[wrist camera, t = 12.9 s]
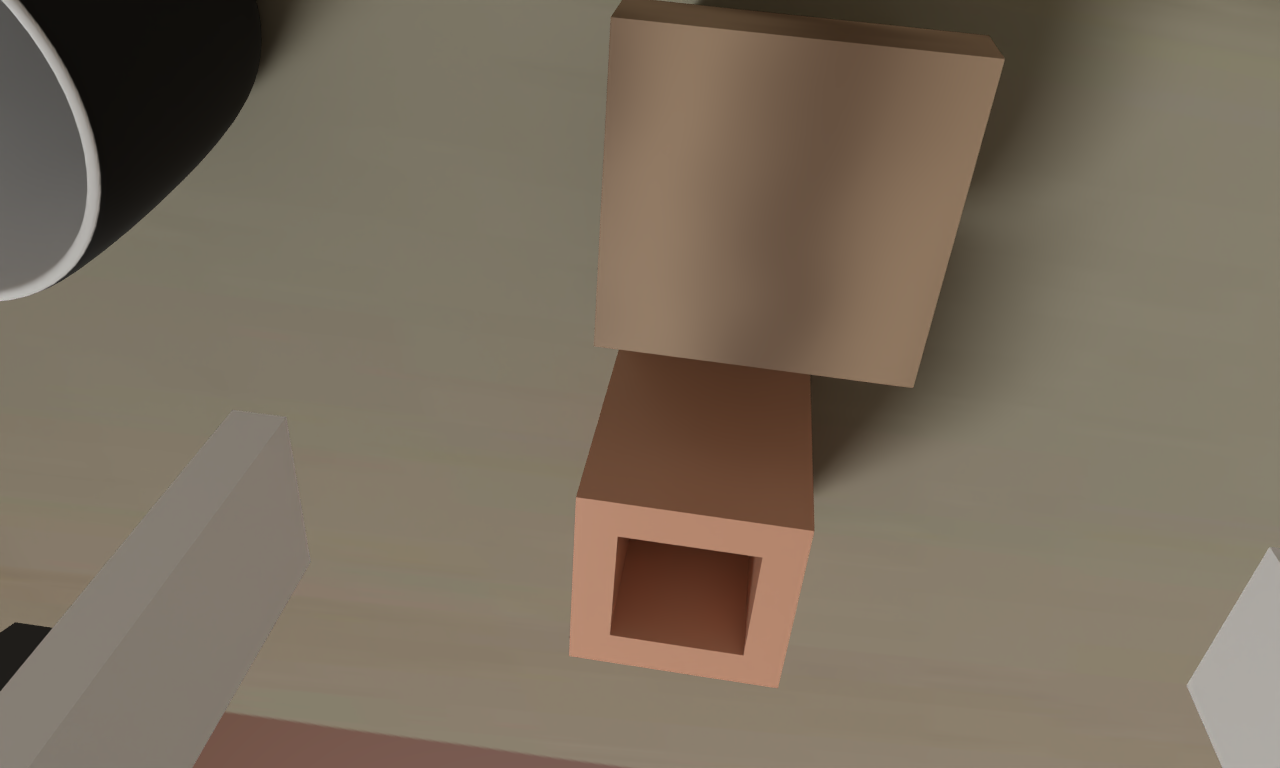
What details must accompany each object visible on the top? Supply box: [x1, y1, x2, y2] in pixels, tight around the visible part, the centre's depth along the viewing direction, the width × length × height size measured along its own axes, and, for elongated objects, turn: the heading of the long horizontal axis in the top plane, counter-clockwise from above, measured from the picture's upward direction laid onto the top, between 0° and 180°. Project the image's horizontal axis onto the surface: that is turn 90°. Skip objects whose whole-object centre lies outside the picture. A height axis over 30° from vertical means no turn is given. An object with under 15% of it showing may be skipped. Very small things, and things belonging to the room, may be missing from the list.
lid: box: [594, 0, 1005, 388], centre depth 24 cm, size 8×8×2 cm
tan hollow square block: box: [569, 350, 814, 688], centre depth 31 cm, size 6×6×8 cm
